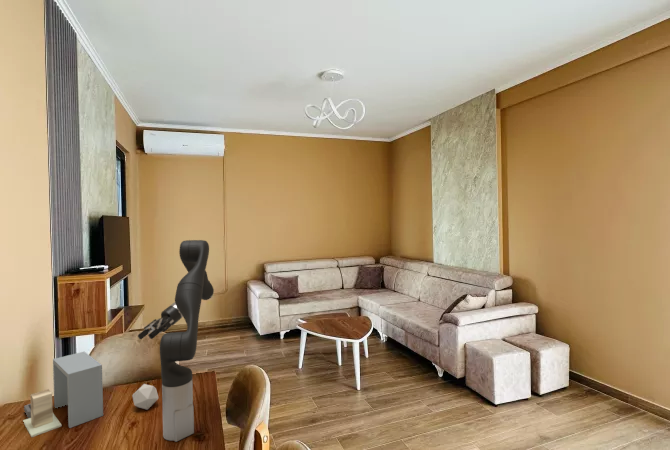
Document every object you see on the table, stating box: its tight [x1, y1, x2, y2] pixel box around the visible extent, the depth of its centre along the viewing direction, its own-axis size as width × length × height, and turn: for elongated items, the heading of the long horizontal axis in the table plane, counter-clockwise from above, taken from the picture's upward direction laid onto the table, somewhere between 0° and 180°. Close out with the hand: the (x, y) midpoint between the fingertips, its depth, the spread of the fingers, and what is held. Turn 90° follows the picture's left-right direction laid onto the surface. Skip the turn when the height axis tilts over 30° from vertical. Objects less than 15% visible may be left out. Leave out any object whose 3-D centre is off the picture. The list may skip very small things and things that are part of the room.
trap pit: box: [23, 403, 31, 419], centre depth 133 cm, size 7×7×2 cm
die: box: [132, 383, 159, 411], centre depth 135 cm, size 8×9×10 cm
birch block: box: [29, 388, 54, 428], centre depth 124 cm, size 5×5×10 cm
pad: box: [22, 413, 62, 438], centre depth 124 cm, size 14×8×1 cm, turn 50°
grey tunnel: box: [52, 351, 104, 429], centre depth 132 cm, size 21×10×18 cm, turn 50°
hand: (144, 337), depth 145 cm, fingers open, 8 cm apart
